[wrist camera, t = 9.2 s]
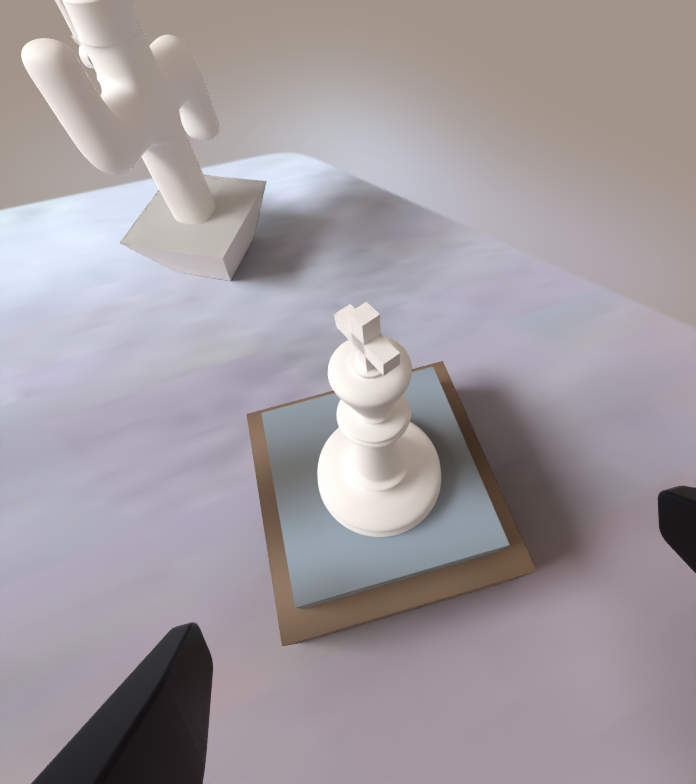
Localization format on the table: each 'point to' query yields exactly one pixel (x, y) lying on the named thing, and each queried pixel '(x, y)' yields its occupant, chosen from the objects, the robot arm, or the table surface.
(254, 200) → the figurine
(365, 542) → the stepped pedestal base
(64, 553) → the table surface
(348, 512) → the chess piece
